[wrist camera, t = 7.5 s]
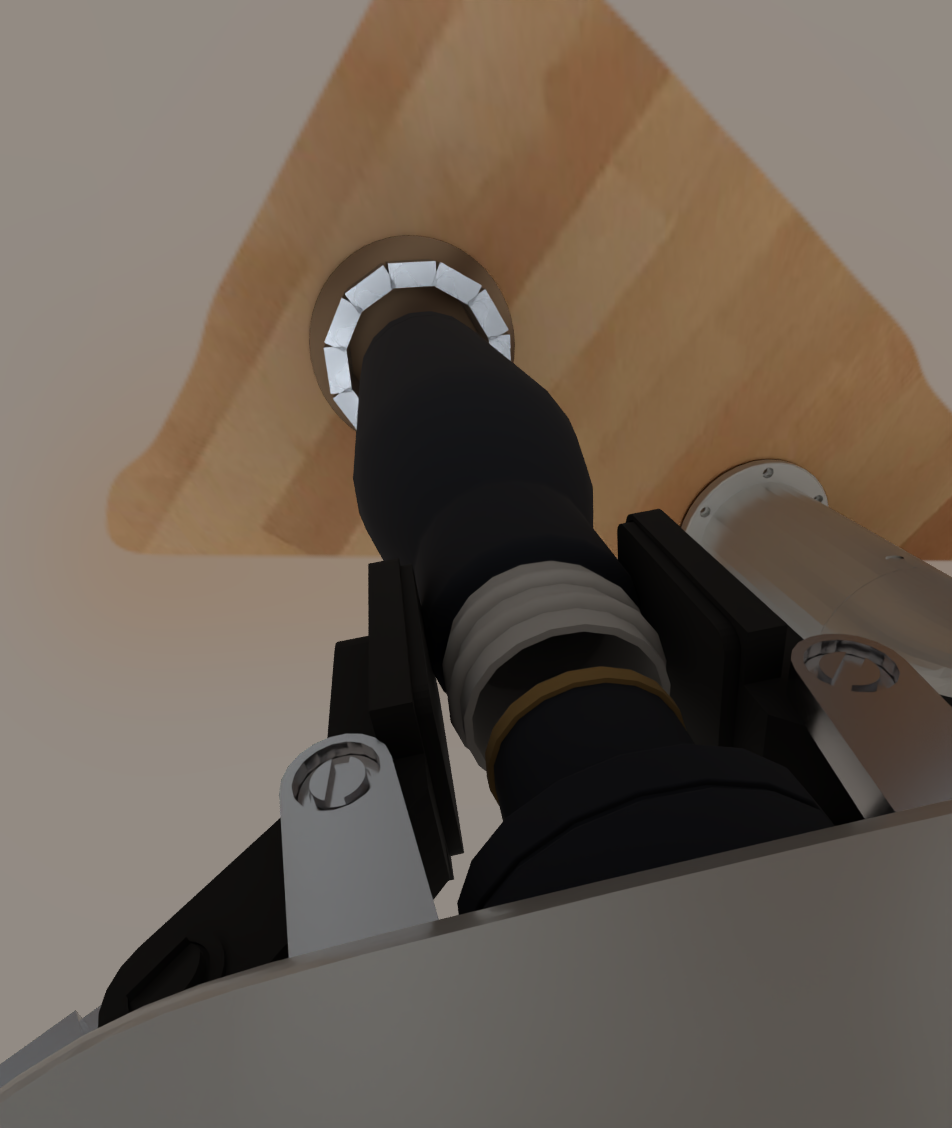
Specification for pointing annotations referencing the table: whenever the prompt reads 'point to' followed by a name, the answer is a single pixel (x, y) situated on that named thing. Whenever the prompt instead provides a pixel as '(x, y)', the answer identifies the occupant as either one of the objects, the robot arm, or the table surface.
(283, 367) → the table surface
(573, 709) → the black tall rounded piece
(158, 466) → the table surface
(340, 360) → the bottle stand
